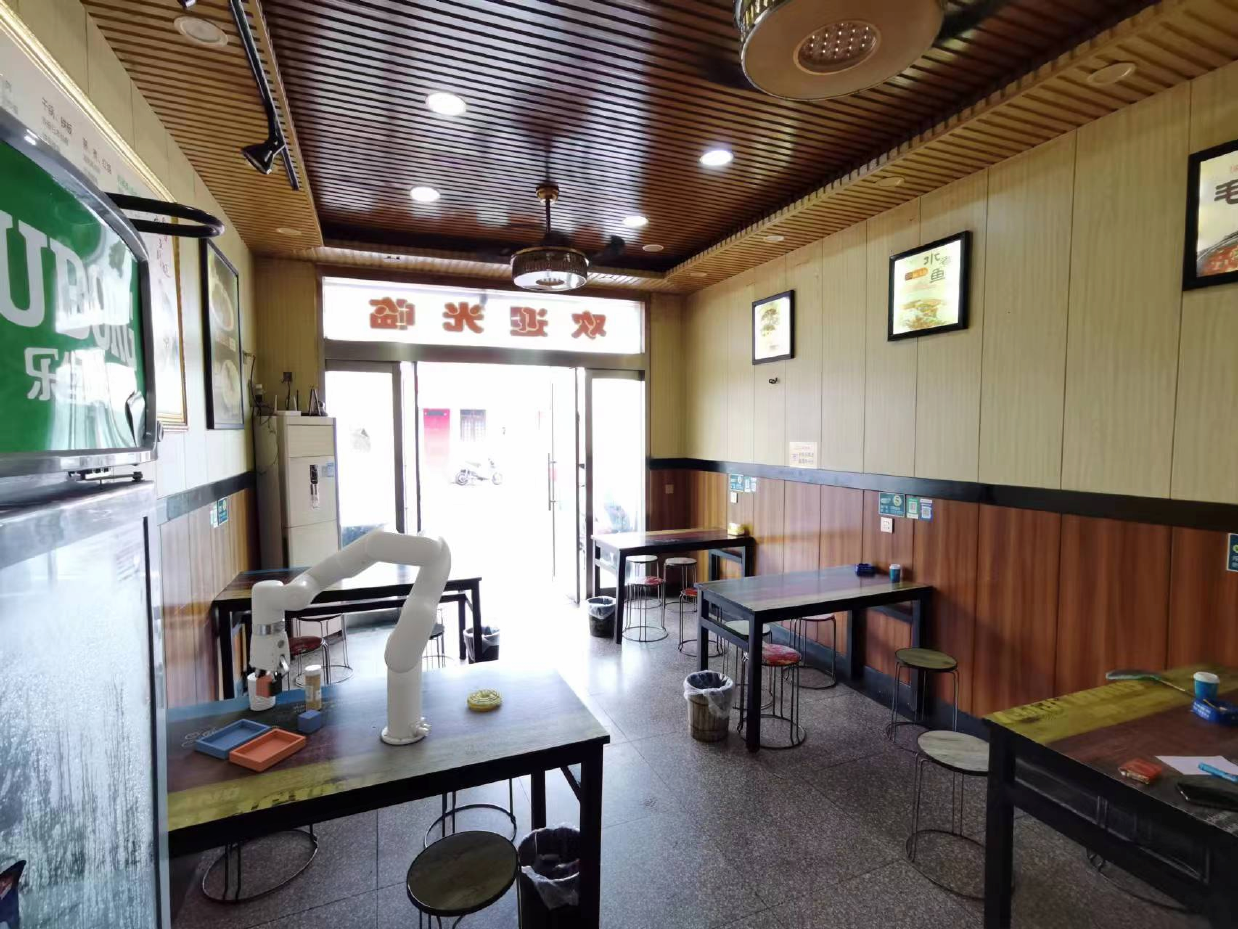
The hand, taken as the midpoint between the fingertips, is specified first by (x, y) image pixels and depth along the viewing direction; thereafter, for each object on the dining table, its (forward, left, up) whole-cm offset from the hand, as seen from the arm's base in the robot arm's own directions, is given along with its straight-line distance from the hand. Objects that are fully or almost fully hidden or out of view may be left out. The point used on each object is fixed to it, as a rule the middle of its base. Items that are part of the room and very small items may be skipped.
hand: (269, 692), depth 162 cm
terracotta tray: (-1, +1, -16) cm, 16 cm away
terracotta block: (0, 0, 0) cm, 0 cm away
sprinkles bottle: (+9, -22, -16) cm, 28 cm away
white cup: (+25, -17, -16) cm, 34 cm away
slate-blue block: (0, -13, -16) cm, 20 cm away
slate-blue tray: (+12, +1, -16) cm, 20 cm away
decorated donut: (-38, -46, -16) cm, 62 cm away
